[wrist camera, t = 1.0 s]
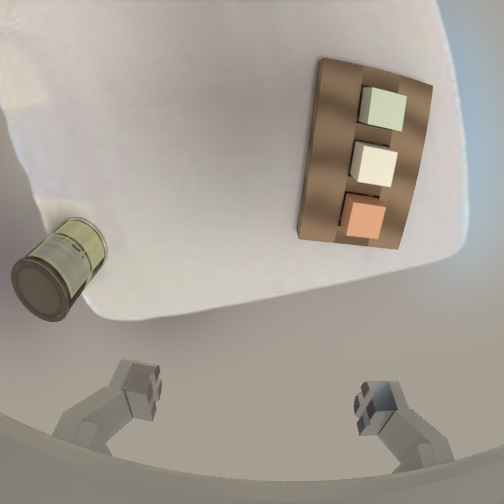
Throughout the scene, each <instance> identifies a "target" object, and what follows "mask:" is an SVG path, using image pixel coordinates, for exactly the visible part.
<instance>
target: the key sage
mask: <svg viewBox="0 0 504 504" xmlns="http://www.w3.org/2000/svg"><path fill="white" fill-rule="evenodd" d="M406 99H407V96H404V95H400V94H397V93H393V92H389V91H385V90H381V89H377V88H373V87H364V88H363V93H362V100H361V108H360V115H359V121H360V122H363V123H366V124H370V125H375V126H379V127H384V128H388V129H393V130H397V131H401V132H402V126H403V120H404V113H405V106H406Z"/></svg>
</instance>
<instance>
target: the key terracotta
mask: <svg viewBox="0 0 504 504" xmlns="http://www.w3.org/2000/svg"><path fill="white" fill-rule="evenodd" d="M385 210H386V207H385V206H384V204H383V203H382V202H381V201H380V200H379V199H378V198H375V197H369V196H362V195H356V194H349V193H346V198H345V203H344V208H343V213H342V218H341V223H340V225H341V226H342V228H343V230H344V232H345V234H346V235H347V236H355V237H364V238H373V239H378V237H379V233H380V229H381V226H382V222H383V218H384V214H385Z"/></svg>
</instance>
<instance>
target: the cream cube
mask: <svg viewBox="0 0 504 504" xmlns="http://www.w3.org/2000/svg"><path fill="white" fill-rule="evenodd" d="M397 154H398V152H396V151H394V150H392V149H390V148H388V147H384V146H379V145H374V144H369V143H364V142H359V141H356V142H355V148H354V154H353V160H352V166H351V171H350V175H351V176H352V177H353V178H354V179H355V180H356V181H357V182H362V183H368V184H374V185H380V186H386V187H391V184H392V179H393V174H394V169H395V164H396V159H397Z"/></svg>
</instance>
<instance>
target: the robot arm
mask: <svg viewBox="0 0 504 504" xmlns="http://www.w3.org/2000/svg"><path fill="white" fill-rule="evenodd" d="M159 373H160V368H159V366H158V365H155V364H150V363H145V362H140V361H136V360H131V359H126V358H122V360H120V363H119V364H118V366H117V369H116V371H115V373H114V375H113V377H112V380H111V382H110V384H109V386H108V387H103V388H102V389H100V390H99V391H97V392H95V393H94V394H92V395H91V396H89V397H87V398H86V399H84V400H83V401H81V402H79V403H78V404H76V405H74V406H73V407H71V408H69V409H68V410H66V411H65V412H63V414H62V416H61V418H60V420H59V422H58V424H57V426H56V428H55V430H54V432H53V434H52V436H50V435H48V434H46V433H43V432H41V431H38V430H36V429H34V428H32V427H29V426H27V425H25V424H23V423H21V422H19V421H17V420H14V419H12V418H10V417H8V416H6V415H4V414H2V413H1V412H0V504H504V445H502V446H499V447H496V448H493V449H491V450H488V451H484V452H481V453H478V454H475V455H472V456H469V457H465V458H461V459H458V460H454V457H453V454H452V451H451V448H450V446H449V443H448V440H447V438H446V437H445V436H443V435H442V434H441V433H440V432H439V431H437V430H436V429H435V428H434V427H433V426H431V425H430V424H429V423H428V422H427V421H426V420H424V419H423V418H422V417H421V416H419V415H418V414H417V413H416V412H415V411H414V410H412V409H409V407H408V405H407V402H406V399H405V396H404V394H403V391H402V388H401V386H400V383H399V382H398V381H397V380H396V381H366V382H364V383H363V384H362V386H361V390H362V391H361V392H360V393H358V394H357V396H356V398H355V402H354V412H355V415H356V416H357V417H358V418H359V421H358V422H357V426H358V431H359V435H360V436H367V435H378V437H379V438H380V439H381V441H382V442H383V443H384V444H385V445H386V446H387V448H388V449H389V450H390V451H391V452H392V453H393V455H394V456H395V457H396V458H397V459H398V460H399V462H400V463H401V464H400V465H399V466H398V467H397V468H396V469H395V470H394V471H393V472H392V473H393V474H387V475H380V476H372V477H364V478H353V479H342V480H326V481H259V480H243V479H232V478H222V477H213V476H205V475H197V474H191V473H184V472H179V471H173V470H168V469H163V468H158V467H153V466H148V465H144V464H140V463H135V462H131V461H127V460H124V459H120V458H116V457H113V456H112V454H111V452H110V450H109V449H108V447H107V445H106V443H105V442H107V441H108V440H109V439H110V438H111V437H112V436H114V435H115V434H116V433H117V432H118V431H119V430H121V429H122V428H123V427H124V426H125V425H126V424H127V423H129V422H130V421H131V420H132V419H133V418H137V419H143V420H147V421H153V419H154V416H155V412H156V402H157V401H158V400H159V399H160V395H161V388H162V381H161V378H160V377H159Z"/></svg>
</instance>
